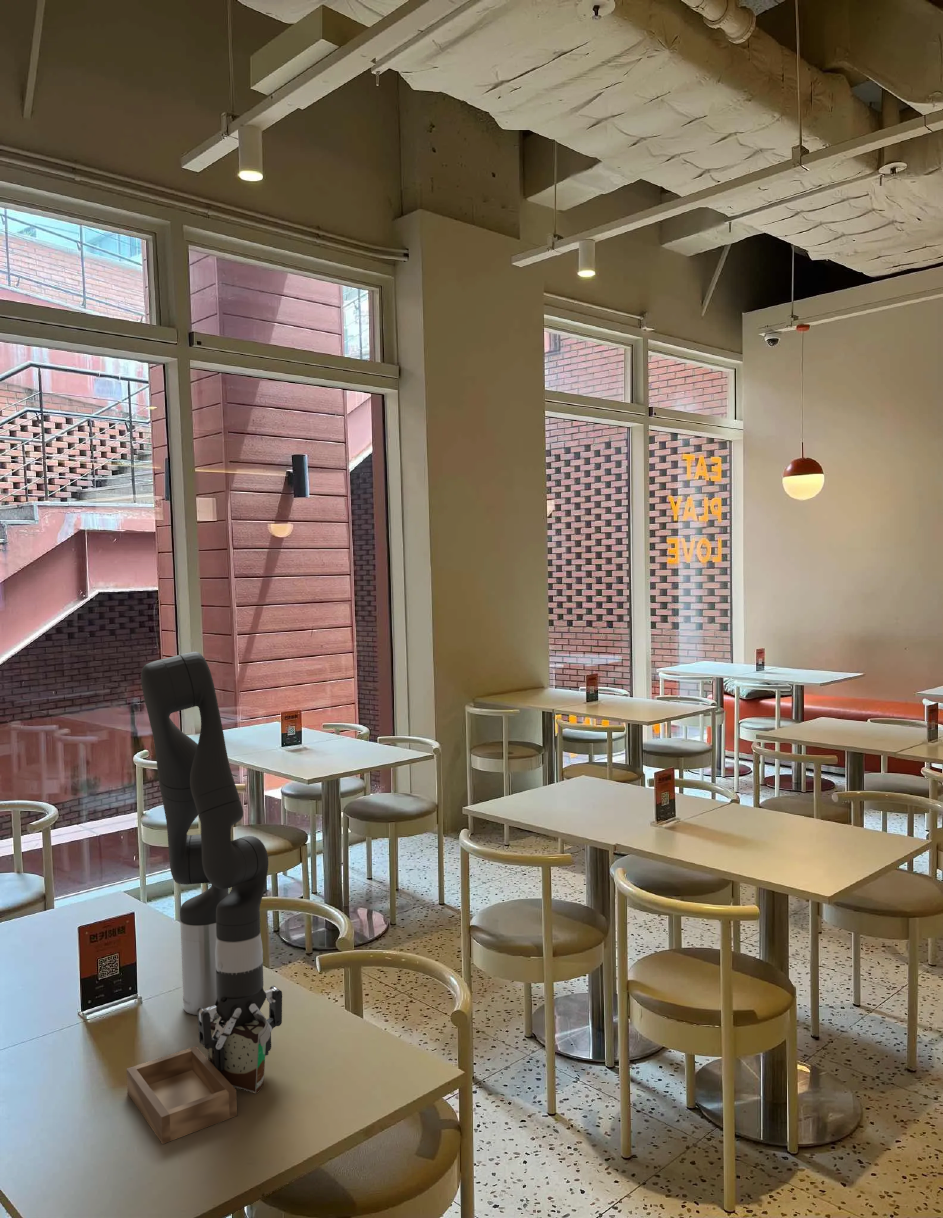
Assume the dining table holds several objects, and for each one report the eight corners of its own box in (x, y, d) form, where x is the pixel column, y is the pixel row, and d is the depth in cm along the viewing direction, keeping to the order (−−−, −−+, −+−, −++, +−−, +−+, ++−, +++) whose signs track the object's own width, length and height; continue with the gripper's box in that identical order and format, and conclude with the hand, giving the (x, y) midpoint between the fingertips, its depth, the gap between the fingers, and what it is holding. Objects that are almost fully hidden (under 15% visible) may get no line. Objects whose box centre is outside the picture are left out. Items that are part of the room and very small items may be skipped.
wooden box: (197, 1069, 156) (196, 1046, 156) (237, 1115, 142) (236, 1090, 142) (127, 1093, 149) (126, 1068, 149) (162, 1144, 135) (161, 1117, 135)
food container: (287, 1076, 153) (285, 1017, 152) (263, 1095, 147) (261, 1033, 147) (229, 1061, 158) (227, 1003, 158) (204, 1079, 153) (201, 1019, 152)
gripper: (270, 944, 159) (273, 1039, 159) (188, 966, 150) (191, 1066, 151) (289, 957, 153) (292, 1056, 153) (205, 981, 144) (208, 1085, 145)
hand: (242, 1061), depth 152 cm, fingers closed on food container, 7 cm apart
